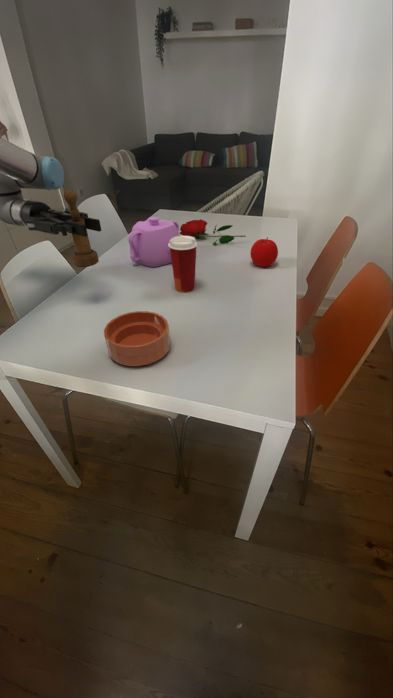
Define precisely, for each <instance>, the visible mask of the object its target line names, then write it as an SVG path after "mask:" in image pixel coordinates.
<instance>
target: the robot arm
mask: <svg viewBox="0 0 393 698" xmlns="http://www.w3.org/2000/svg"><path fill="white" fill-rule="evenodd" d="M64 184H65V171H64V168H63V165H62V164H61V163H60V161H59V160H58V159H57V158H55V157H52V156H47V155H43V156H41V155H37V154H35V153H33V152H31V151H28V150H26V149H25V148H22V147H21V146H19V145H16V144H14V143H13V142H10V141H8V140H6V139H4V138H2V137H0V222H3V223H5V224H8V225H13V226H19V227H22V228H27V229H28V230H29V231H37V232H41V233H45V234H51V235H59V234H60V233H61V234H62V236H63V237H66V236H68V234H71V233H72V234H76V235H80V236H84V237H86V236H88V237H89V235H88V230H89V231H90V230H91V231H93V232H94V231H95V232H102V226H101V221H100V219H98V218H94V217H89V214H88V213H87V212H83V211H79V218H82V219H84V221H85V224H81V223H76V222H71V221H69V220H71V219H73V218H72V217H71V215H70V212H69V210H70V207H69V208H68V207H66V208H64V210H56V209H55V208H51V207H50V206H49V205H48V204H47V203H46V202H43V201H37V200H33V199H27V198H24V195H23V192H22V189H30V190H31V189H32V190H33V189H35V190H46V191H52V190H53V191H54V190H59V189H61V188H62V187H63V185H64ZM72 234H71V235H72Z"/></svg>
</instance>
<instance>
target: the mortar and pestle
mask: <svg viewBox="0 0 393 698" xmlns="http://www.w3.org/2000/svg"><path fill="white" fill-rule="evenodd" d="M63 199H64V201H65V202H66V204H68V206H69V209H70V210H69V212H70V215H71V217H72V218H73V219H71V220H69V221H71V222H76V223H81V224H85V221H84V219H82V218H79V212H80V210H79V209H78V207H77V200H78V195H77V193H76V192H75V190H73V189H66V190H64V191H63ZM70 234H71V237H72V241H73V246H74V249H75V252H73V254H72V256H71V258H72V262H73V265H74V266H75V267H76V268H87V267H93V266H95V265H97V264H98V263H99V261H100V259H99V255H98V252H97V251H96V250H94V249H92V247H91V242H90V239H89V235H88V236H86V237H84V236H80V235H76V234H72V233H70Z"/></svg>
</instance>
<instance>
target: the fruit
mask: <svg viewBox="0 0 393 698" xmlns="http://www.w3.org/2000/svg"><path fill="white" fill-rule="evenodd" d="M249 255H250V259H251V261H252V263H253V264H254V265H256V266H258V267H262V268H264V267H270V266H272V265H273V264H274V263H275V262H276V260H277V259H278V256H279V249H278V245H277V243H276V242H275V241H274V240H272V239H269V237H268V236H267V237H266V238H259V239H257V240H256V241H254V243H253V244H252V246H251V248H250V254H249Z"/></svg>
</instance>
